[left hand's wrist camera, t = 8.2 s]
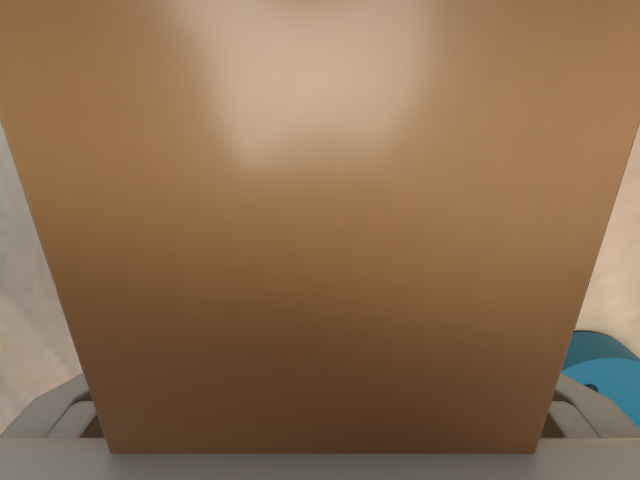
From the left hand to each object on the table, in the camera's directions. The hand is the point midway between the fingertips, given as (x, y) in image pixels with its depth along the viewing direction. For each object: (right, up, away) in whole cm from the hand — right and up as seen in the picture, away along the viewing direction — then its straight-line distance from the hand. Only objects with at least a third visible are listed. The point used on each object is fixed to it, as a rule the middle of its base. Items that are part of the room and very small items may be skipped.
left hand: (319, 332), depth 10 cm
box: (0, +8, 0) cm, 8 cm away
